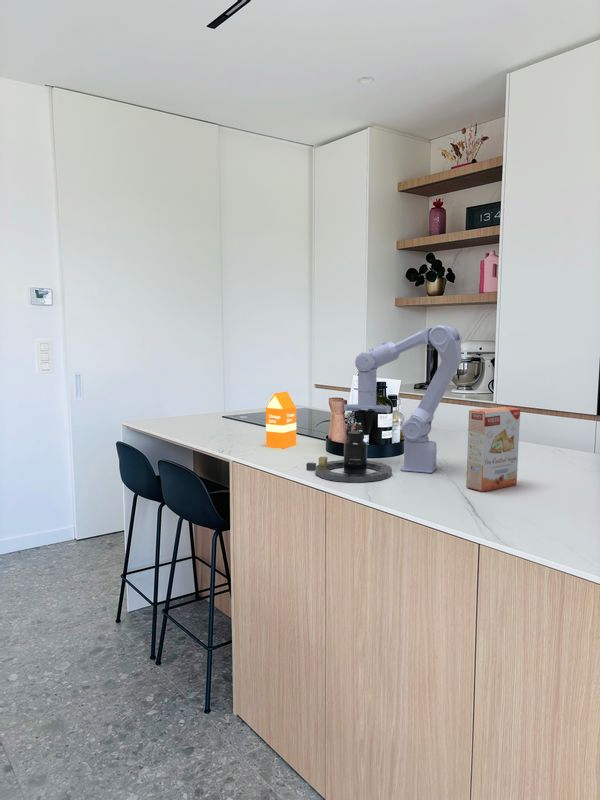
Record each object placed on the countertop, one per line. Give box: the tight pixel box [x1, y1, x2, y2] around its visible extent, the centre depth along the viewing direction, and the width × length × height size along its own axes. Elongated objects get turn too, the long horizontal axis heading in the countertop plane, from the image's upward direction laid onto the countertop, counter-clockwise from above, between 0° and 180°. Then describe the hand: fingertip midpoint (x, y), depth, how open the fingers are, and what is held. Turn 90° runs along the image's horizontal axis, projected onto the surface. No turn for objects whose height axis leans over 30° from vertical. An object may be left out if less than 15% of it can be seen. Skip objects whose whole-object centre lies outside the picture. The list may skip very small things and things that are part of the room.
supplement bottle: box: [343, 430, 368, 474], centre depth 172 cm, size 7×7×12 cm
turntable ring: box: [315, 456, 393, 483], centre depth 171 cm, size 22×22×4 cm
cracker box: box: [465, 406, 521, 492], centre depth 154 cm, size 14×6×21 cm, turn 123°
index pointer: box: [305, 461, 317, 471], centre depth 176 cm, size 2×2×2 cm
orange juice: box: [265, 391, 297, 450], centre depth 214 cm, size 8×9×20 cm
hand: (366, 434), depth 183 cm, fingers closed
